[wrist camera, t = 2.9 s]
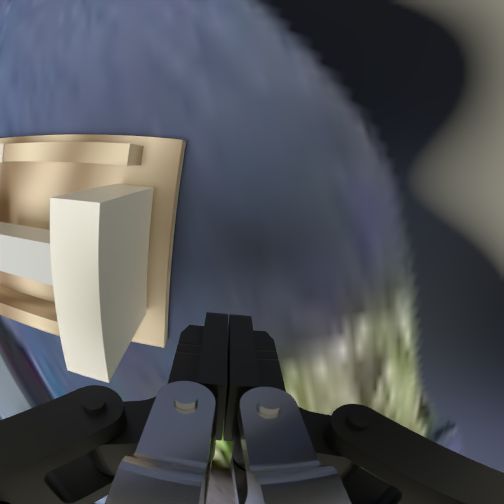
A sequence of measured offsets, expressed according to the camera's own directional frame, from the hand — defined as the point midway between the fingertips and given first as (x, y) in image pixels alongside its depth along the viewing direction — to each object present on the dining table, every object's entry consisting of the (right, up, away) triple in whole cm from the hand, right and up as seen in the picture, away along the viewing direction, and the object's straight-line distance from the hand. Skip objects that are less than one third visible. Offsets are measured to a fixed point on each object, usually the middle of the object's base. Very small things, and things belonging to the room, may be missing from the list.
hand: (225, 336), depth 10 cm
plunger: (-9, +3, +4) cm, 11 cm away
